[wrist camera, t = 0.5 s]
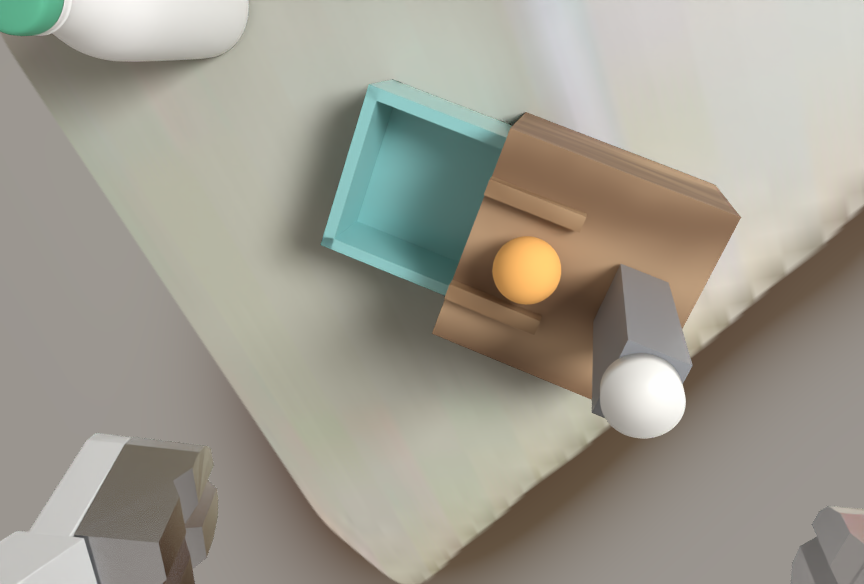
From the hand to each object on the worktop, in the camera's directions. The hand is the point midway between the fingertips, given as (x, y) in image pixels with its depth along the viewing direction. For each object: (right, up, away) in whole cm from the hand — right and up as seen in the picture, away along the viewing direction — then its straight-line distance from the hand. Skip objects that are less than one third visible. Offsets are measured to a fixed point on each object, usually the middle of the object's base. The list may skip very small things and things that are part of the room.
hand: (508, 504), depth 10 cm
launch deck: (+10, +7, +44) cm, 46 cm away
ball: (+5, +4, +34) cm, 34 cm away
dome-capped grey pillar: (+11, +2, +35) cm, 37 cm away
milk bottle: (-18, +24, +45) cm, 54 cm away
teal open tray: (-1, +11, +45) cm, 47 cm away
